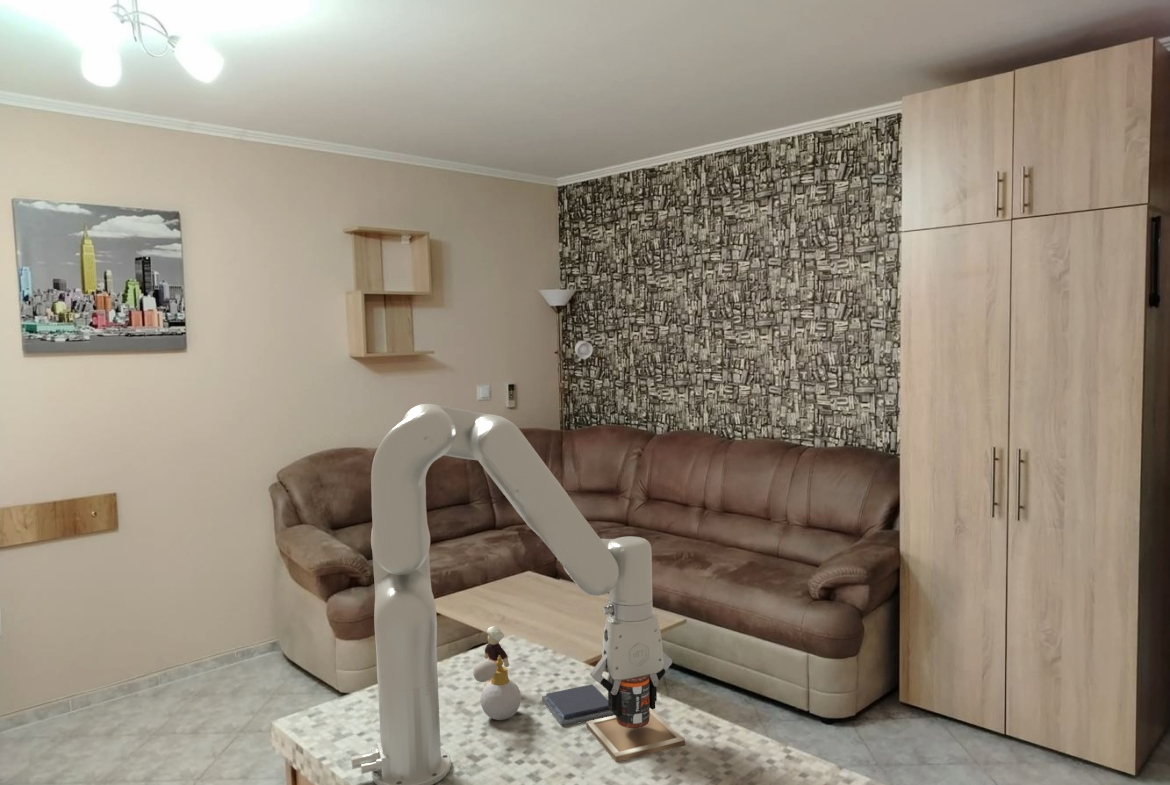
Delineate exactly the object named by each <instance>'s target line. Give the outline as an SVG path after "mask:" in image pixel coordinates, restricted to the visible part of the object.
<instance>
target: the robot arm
mask: <svg viewBox="0 0 1170 785" xmlns="http://www.w3.org/2000/svg"><path fill="white" fill-rule="evenodd" d="M443 456H446V457H453V458H457V459H458V458H459V459H465V460H474V461H478V462H479V464H480V465H481V466H482V467H483V470H484V471H485V472H486V473H487V474H488V475H489V477H490V478H491V480H492V481H493V482H494V484H495V485H496V486H497V487H498V489H499V491H501V492H502V494H503V496H505V498H506V499H507V501H509V503H510V504H511V505H512V507H513V509H514V510H515V512H517V514H518V515H519V516H520V518H522V520H523V521H524V522H525V524H526V525H527V526H528V527H529V528H530V529H531V530H532V531H533V532H534V533H535V534H536V535H537V536H538V537H539V538H540V540H542V542H543V543H544V544H545V545H546V546H547V547H548V550H549V549H550V551H551V553H552V554H553V555H554V557H556V558H557V561H558V562H560V564H561V566H563V569H564V571H565V573H566V574H567V575H568V576H569V577H570V579H571V580H572V581H573V582H574V583H575V584H576V586H577V587H578V588H579V589H580V590H581V591H582V592H583V593H585V594H587V595H589V596H594V597H599V596H604V595H606V594H609V595H608V596H609V599H608V602H607V603H608V604H607V605H605V606H602V608H601V610H602V614H603V615H604V616H605V615H608V616H606V620H605V624H604V628H603V629H604V630H603V636H602V648H601V649H602V651H601V659H600V660H599V661H598V662H597V664H596V665H595V666H594V668H593V669H592V670H591V672H590V676H591V678H592V679H593V680H594V681H596V682H597V683H598V684H599V685H600V686H602V687H603V688H604V689H605V690H607V696H608V697H607V699H608V707H609V709H610V710H611V711H612V712H613V713H614V714H615V715H616V717H620V715H621V695H620V694H619V693H618V689H619V686H620V683H621V680H627V679H632V678H636V677H641V676H647V675H649V703H650V708H651V709H653V710H656V702H657V701H658V699H657V694H658V692H657V687H658V686H659V685H660V681H661V679H662V678H663V677H664V676H665V674H666V671H667V670H668V669H669V667H670V666H672V664H673V659H672V658H671V657H670V656H668V654H666V653H665V652H664V651H663V650H664V648H663V640H662V632H661V626H660V623H659V619H658V615H657V614H656V613H654V612H653V611H654V610H653V563H652V562H653V555H652V545H651V543H650V542H649V540H647V539H646V538H644V537H640V536H621V537H617V538H601V537H600V536H599V535H598V534H597V532H596V531H595V529H594V528H593V527H592V526H591V524H590V523H589V522H588V521H587V519H586V518H585V517H584V515H583V514H582V513H581V512H580V510H579V509H578V507H577V506H576V505H575V503H574V501H573V500H572V498H571V497H570V496H569V494H568V492H566V489H564V487H563V486H562V484H561V483H560V482H559V480H558V479H557V477H555V475H554V474H553V472H552V471H551V470H550V469H549V467H548V466H547V465H546V463H545V462H544V461H543V459H542V458H541V457H540V456H539V454H538V452H537V451H536V450H535V448H534V447H533V445H532V444H531V443H530V441H528V439H527V438H526V437H525V435H524V433H523V432H522V431H521V429H520V428H519V427H518V426H517V425H516V424H514V423H513V421H511V420H509V419H507V418H506V417H504V416H501V415H497V414H492V413H483V412H476V411H471V410H465V409H461V408H456V407H451V406H450V407H449V406H445V405H439V404H435V403H420V404H418V405H416V406H414V407H412V408H411V409H409V410H408V411H406V413H405V414H404V417H403V418H402V421H400V422H398V424H396V425H395V426H394V427H392V428H391V430H389V431H388V433H387V434H386V435H385V436H384V437H383V439H382V440H381V442H380V443H379V445H378V447H377V448H376V451H375V454H374V456H373V461H372V463H371V464H372V465H371V473H370V474H371V475H370V483H371V484H370V485H371V487H370V489H371V491H370V492H371V518H372V520H371V521H372V528H371V535H370V545H371V550H372V551H371V552H372V564H373V566H372V568H373V578H374V579H373V581H374V610H373V611H374V612H373V613H374V614H373V617H374V618H373V620H374V621H373V622H374V624H373V625H374V640H375V653H376V654H375V655H376V675H377V676H376V678H377V687H378V688H377V689H378V710H379V732H380V736H379V737H380V741H379V742H376V749H371V752H369V753H364V754H356V755H353V756H350V757H351V758H350V759H351V769H352V770H355V769H356V770H357V769H359V768H360V772H361V774H366V773H370V772H371V778H372V781H373V783H375V785H434V784H437V783H438V782H440V781H441V780H443V779H444V778H445V777H446V775H448V773H449V772H450V769H451V766H452V763H451V762H452V760H451V756H450V754H449V753H448V752H447V751H446V750H445V749H443V748H442V747H441V725H440V724H441V722H440V720H441V719H440V699H439V696H440V695H439V675H438V652H437V644H438V643H437V633H438V632H437V629H438V628H437V627H438V624H437V623H438V622H437V609H436V608H437V607H436V601H435V596H434V593H433V589H432V582H431V568H430V566H431V565H430V547H431V534H430V530H429V529H430V528H429V525H428V516H427V500H426V499H427V498H426V497H427V491H426V490H427V487H426V480H427V479H426V477H427V473H428V471H429V468H430V467H431V466H432V464H433V463H434V462H435V461H437V460H438V459H440V458H441V457H443ZM604 672H606V673H608V675H607V678H605V677H604V676H603V673H604Z"/></svg>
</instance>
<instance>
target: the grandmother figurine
mask: <svg viewBox="0 0 1170 785" xmlns="http://www.w3.org/2000/svg"><path fill="white" fill-rule="evenodd" d="M486 633H487V642H488V643H487V645H486V646H485V648H484V654H483V659H485V660H487V659H488V661H493V662H495V663H496V662H497V661H498V660H497V658H498V656H499V655H500V657H501V658H502V659H501V660H502V661H503V665H504V666H503V667H505V668H508V667H509V666H510V662H509V656H508V653H507V652H506V651H505V650H504V648H503V647H502V646H501V644H500V641H501V640H502V639H503V638H504V636H505V634H504V633H503V631H502V629H501V628H500V627H498V626H493V625H492V626H490V627H488V628H487V631H486ZM497 667H498V666H497ZM491 680H492V678H491V679H490V680H488V681H486V682H484V685H483V686H484V687H485V686H486V684H487V683H489V682H490V681H491ZM484 687H483V688H484Z"/></svg>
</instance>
